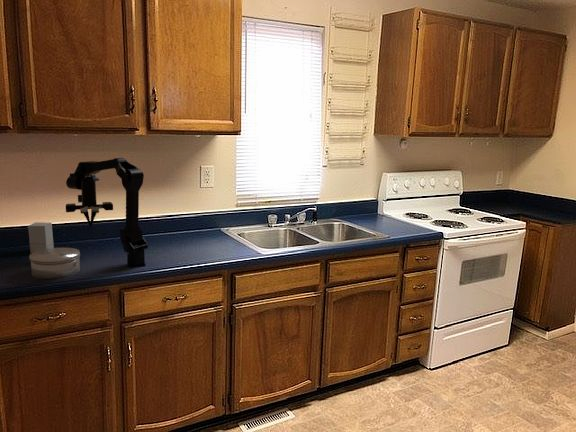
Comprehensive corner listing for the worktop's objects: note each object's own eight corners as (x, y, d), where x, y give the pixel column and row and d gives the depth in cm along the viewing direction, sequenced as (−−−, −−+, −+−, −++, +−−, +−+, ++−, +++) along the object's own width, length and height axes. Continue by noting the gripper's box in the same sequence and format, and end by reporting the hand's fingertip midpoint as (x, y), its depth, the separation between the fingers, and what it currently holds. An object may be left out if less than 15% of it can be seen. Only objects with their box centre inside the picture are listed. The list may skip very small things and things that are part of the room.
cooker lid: (79, 248, 196) (79, 246, 196) (80, 260, 181) (80, 257, 181) (30, 252, 189) (30, 249, 189) (28, 264, 173) (27, 262, 173)
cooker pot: (79, 258, 204) (78, 244, 203) (81, 275, 182) (80, 260, 181) (33, 262, 197) (32, 247, 196) (29, 281, 175) (28, 264, 173)
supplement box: (54, 249, 217) (52, 222, 214) (46, 253, 209) (44, 225, 207) (37, 249, 216) (35, 221, 214) (29, 253, 209) (27, 225, 207)
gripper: (110, 187, 214) (111, 221, 217) (64, 188, 206) (66, 224, 209) (112, 191, 204) (114, 226, 207) (64, 192, 197) (66, 229, 200)
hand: (90, 226), depth 206 cm, fingers closed
